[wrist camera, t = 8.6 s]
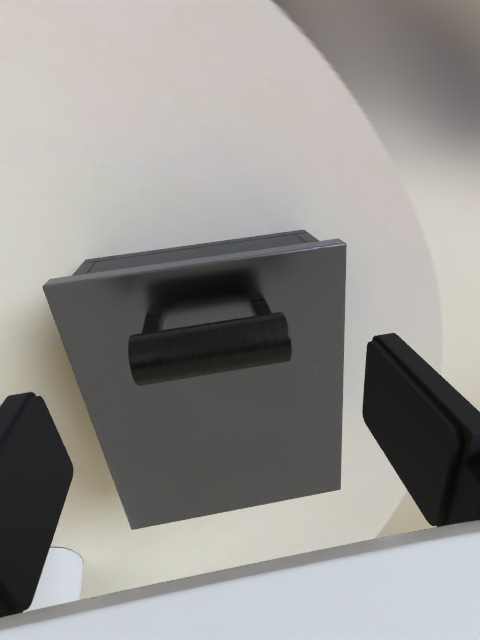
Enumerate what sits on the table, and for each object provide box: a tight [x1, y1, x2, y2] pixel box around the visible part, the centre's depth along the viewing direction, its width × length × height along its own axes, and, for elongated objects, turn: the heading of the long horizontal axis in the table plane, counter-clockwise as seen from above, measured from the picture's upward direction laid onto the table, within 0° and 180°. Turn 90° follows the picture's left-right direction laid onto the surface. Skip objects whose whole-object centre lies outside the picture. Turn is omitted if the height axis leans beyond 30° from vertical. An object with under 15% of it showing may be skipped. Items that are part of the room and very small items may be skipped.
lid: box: [43, 239, 346, 530], centre depth 18 cm, size 16×14×5 cm
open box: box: [72, 230, 319, 276], centre depth 23 cm, size 16×14×6 cm
